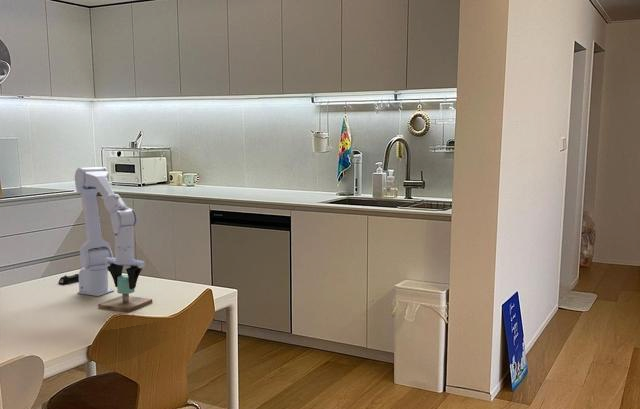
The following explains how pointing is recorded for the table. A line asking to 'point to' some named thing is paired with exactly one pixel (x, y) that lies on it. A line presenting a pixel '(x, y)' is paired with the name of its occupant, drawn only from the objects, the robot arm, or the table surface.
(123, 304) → the post board
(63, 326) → the table surface
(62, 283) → the electric trimmer
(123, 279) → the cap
